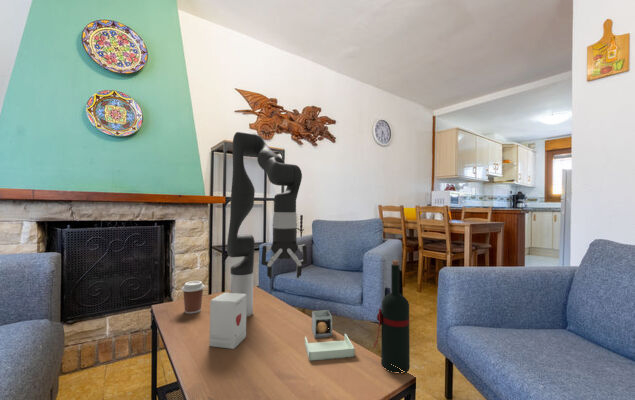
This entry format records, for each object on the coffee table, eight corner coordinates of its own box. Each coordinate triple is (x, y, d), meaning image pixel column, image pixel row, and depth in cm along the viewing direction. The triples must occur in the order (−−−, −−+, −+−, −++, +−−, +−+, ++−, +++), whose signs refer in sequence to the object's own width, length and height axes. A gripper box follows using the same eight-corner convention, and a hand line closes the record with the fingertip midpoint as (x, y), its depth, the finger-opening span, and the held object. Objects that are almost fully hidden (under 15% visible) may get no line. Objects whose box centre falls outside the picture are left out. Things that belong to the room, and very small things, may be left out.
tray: (304, 344, 93) (304, 336, 93) (345, 341, 95) (345, 333, 95) (309, 360, 83) (309, 352, 83) (354, 356, 85) (354, 348, 85)
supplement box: (234, 349, 89) (234, 302, 89) (208, 346, 91) (209, 300, 91) (246, 336, 98) (247, 293, 98) (223, 334, 100) (224, 291, 100)
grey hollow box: (311, 330, 103) (311, 311, 104) (328, 329, 104) (328, 310, 105) (314, 338, 97) (314, 317, 97) (332, 336, 98) (332, 316, 99)
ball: (315, 331, 103) (315, 320, 103) (326, 330, 103) (326, 319, 103) (317, 336, 99) (317, 324, 99) (328, 335, 99) (328, 324, 99)
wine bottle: (373, 356, 86) (373, 257, 86) (408, 360, 84) (407, 258, 84) (373, 370, 78) (373, 262, 79) (411, 375, 76) (411, 264, 77)
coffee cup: (199, 305, 128) (200, 278, 128) (207, 311, 121) (208, 283, 122) (178, 310, 122) (178, 282, 122) (185, 316, 115) (185, 287, 116)
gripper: (306, 225, 94) (305, 274, 94) (262, 225, 92) (262, 275, 92) (308, 227, 87) (307, 280, 86) (261, 227, 85) (260, 281, 84)
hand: (284, 277), depth 89 cm, fingers open, 8 cm apart
